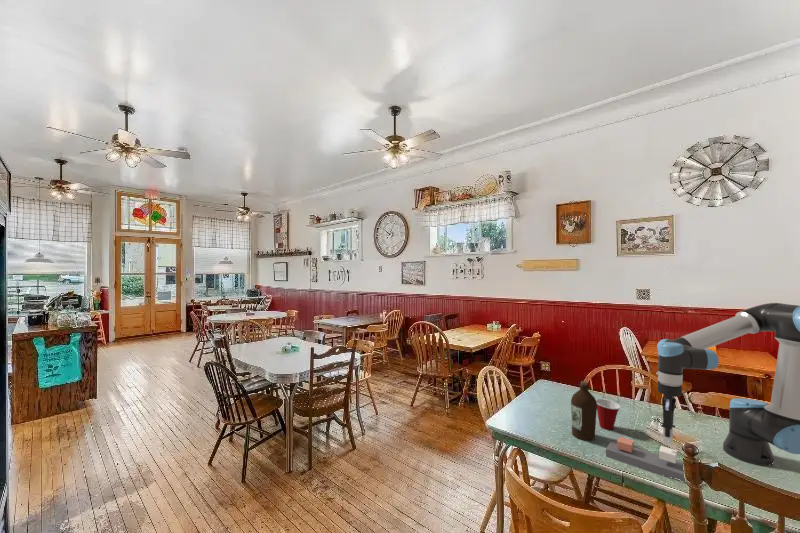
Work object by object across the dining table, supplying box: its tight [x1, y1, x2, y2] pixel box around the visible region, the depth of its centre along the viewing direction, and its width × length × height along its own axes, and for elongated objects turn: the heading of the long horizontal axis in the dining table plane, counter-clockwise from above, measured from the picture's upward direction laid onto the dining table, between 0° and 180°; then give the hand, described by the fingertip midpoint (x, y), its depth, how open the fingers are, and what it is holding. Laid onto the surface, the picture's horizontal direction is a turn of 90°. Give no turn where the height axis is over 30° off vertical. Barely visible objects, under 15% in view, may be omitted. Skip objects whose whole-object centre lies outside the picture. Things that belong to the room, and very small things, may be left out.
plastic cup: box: [595, 398, 621, 431], centre depth 171 cm, size 11×11×12 cm
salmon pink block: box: [616, 436, 635, 453], centre depth 146 cm, size 5×5×3 cm
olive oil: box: [570, 380, 598, 442], centre depth 163 cm, size 11×11×25 cm
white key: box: [658, 445, 678, 463], centre depth 136 cm, size 5×5×3 cm
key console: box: [605, 439, 686, 484], centre depth 141 cm, size 26×10×3 cm, turn 47°
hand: (667, 444), depth 136 cm, fingers closed
